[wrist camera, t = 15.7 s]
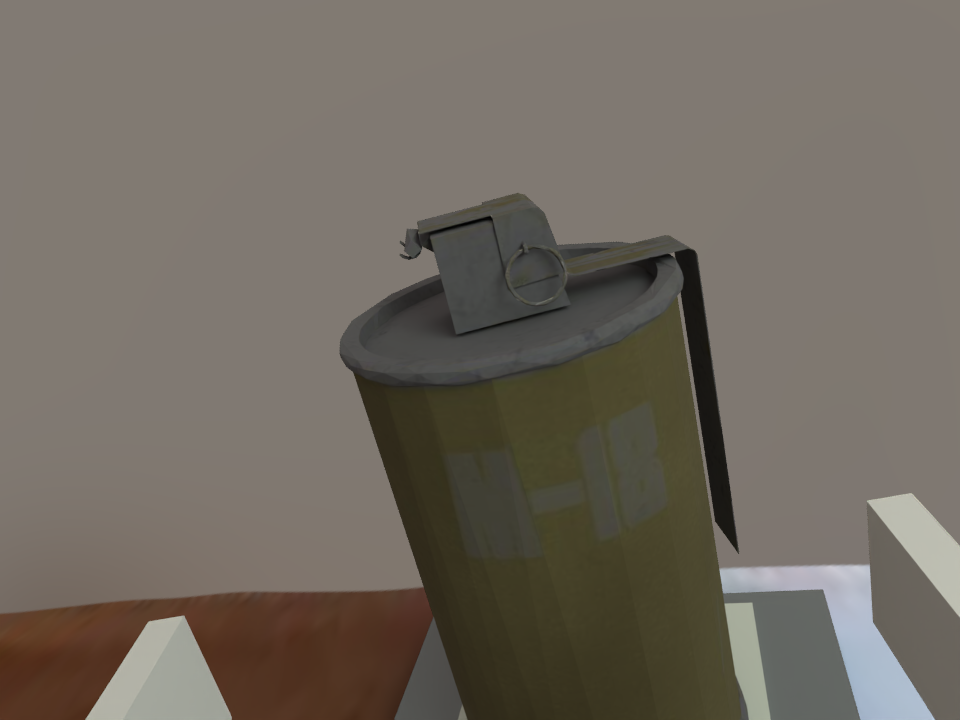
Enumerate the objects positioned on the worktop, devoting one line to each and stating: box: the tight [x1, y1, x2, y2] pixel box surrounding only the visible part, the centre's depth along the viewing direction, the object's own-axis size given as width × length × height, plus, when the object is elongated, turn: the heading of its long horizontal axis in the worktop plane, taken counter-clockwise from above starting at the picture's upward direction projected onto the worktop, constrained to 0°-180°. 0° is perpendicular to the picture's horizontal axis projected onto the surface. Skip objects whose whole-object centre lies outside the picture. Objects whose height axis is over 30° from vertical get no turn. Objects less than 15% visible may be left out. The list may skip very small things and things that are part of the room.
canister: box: [340, 193, 749, 720], centre depth 25 cm, size 11×10×20 cm
